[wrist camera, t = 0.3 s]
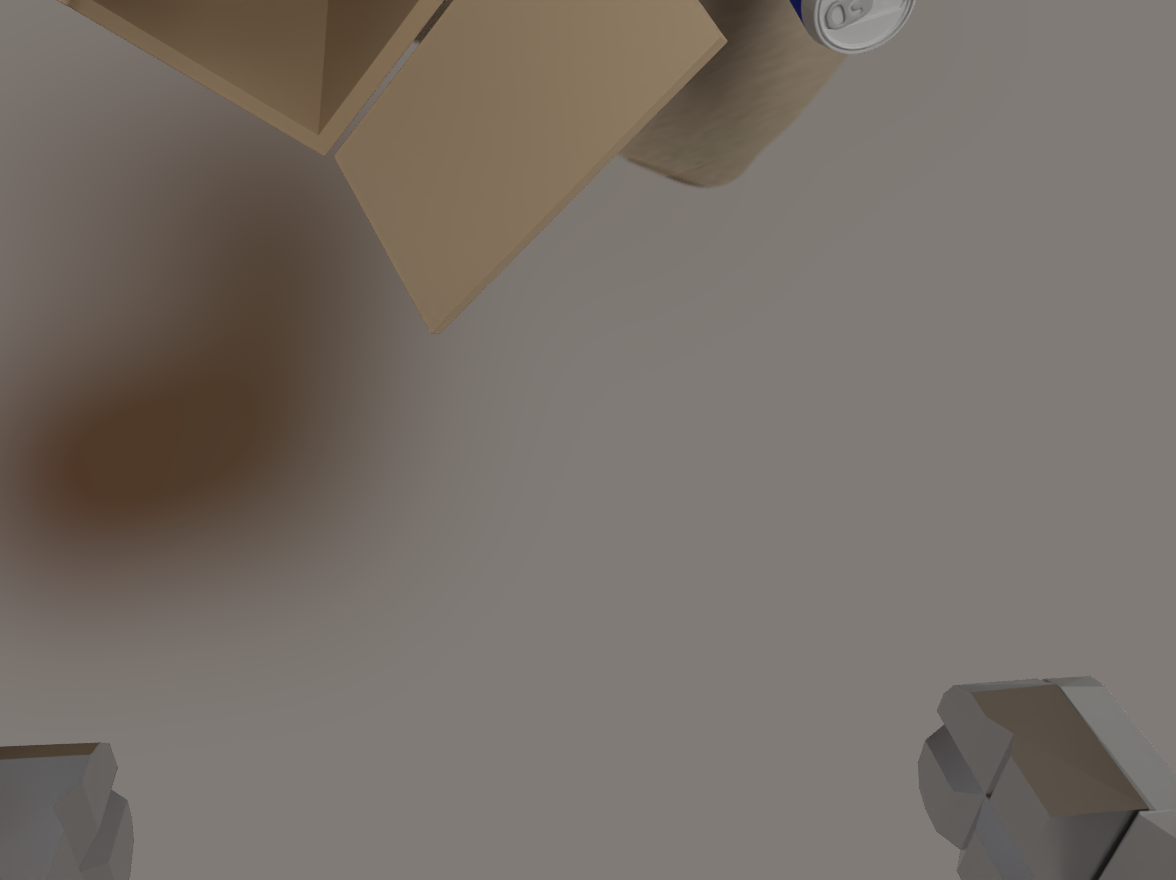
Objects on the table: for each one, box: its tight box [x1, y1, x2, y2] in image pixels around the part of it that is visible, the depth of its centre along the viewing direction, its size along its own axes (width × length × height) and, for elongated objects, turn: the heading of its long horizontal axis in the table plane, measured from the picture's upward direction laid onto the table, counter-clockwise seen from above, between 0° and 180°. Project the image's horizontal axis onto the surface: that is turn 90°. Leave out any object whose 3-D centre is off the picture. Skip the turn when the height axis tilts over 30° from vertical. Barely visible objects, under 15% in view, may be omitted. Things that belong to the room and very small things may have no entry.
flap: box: [334, 0, 728, 334], centre depth 39 cm, size 17×10×1 cm
